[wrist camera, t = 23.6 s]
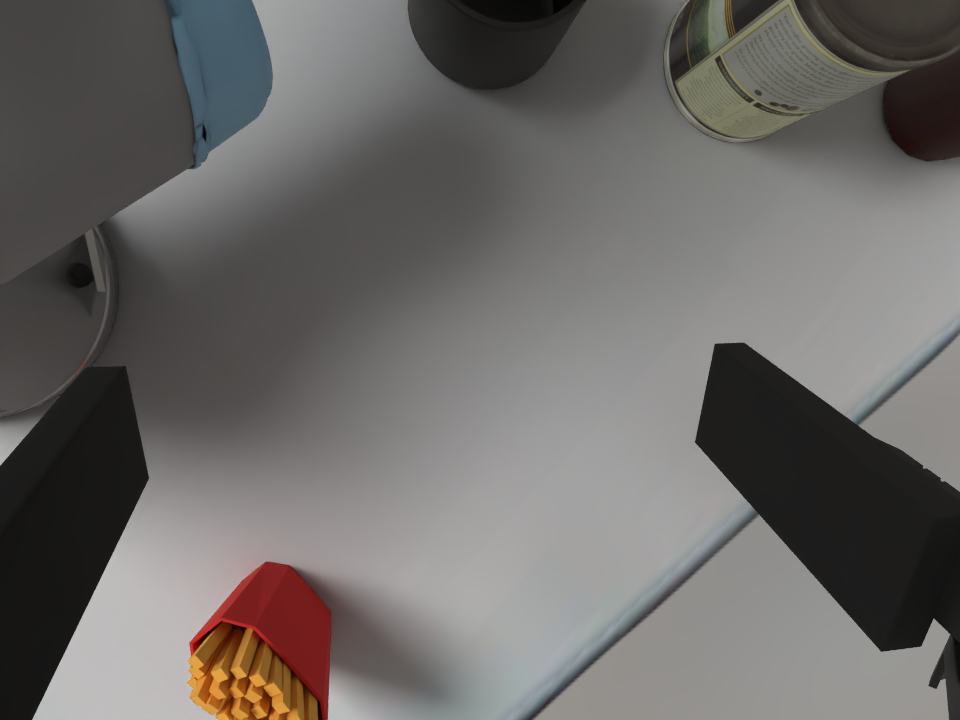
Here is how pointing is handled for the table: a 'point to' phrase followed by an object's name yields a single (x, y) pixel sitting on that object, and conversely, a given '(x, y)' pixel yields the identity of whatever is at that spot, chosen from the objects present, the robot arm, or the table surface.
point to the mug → (490, 37)
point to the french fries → (264, 651)
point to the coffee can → (794, 56)
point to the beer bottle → (926, 110)
